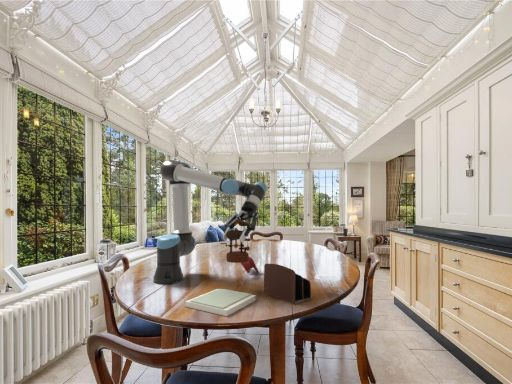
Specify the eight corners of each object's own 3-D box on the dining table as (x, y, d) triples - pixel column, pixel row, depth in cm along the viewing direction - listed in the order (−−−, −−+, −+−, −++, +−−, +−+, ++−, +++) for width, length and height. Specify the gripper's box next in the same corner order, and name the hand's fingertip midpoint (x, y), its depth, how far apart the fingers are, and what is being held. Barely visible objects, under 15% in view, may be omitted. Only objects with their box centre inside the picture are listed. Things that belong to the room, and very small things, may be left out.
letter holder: (294, 305, 117) (293, 269, 117) (263, 293, 133) (262, 261, 133) (311, 300, 123) (311, 265, 123) (280, 289, 139) (279, 259, 139)
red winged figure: (248, 274, 185) (232, 257, 184) (259, 264, 186) (242, 247, 185) (252, 287, 157) (233, 267, 156) (265, 275, 158) (246, 254, 157)
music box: (249, 257, 147) (250, 217, 146) (253, 264, 137) (254, 221, 136) (218, 258, 144) (219, 218, 143) (220, 265, 134) (221, 221, 133)
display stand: (185, 306, 116) (185, 300, 116) (217, 293, 133) (217, 287, 133) (226, 316, 105) (226, 309, 105) (255, 300, 122) (255, 294, 122)
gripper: (272, 211, 148) (255, 247, 134) (236, 210, 160) (217, 243, 146) (266, 200, 144) (249, 236, 130) (230, 200, 156) (210, 233, 141)
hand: (232, 240), depth 138 cm, fingers open, 9 cm apart
